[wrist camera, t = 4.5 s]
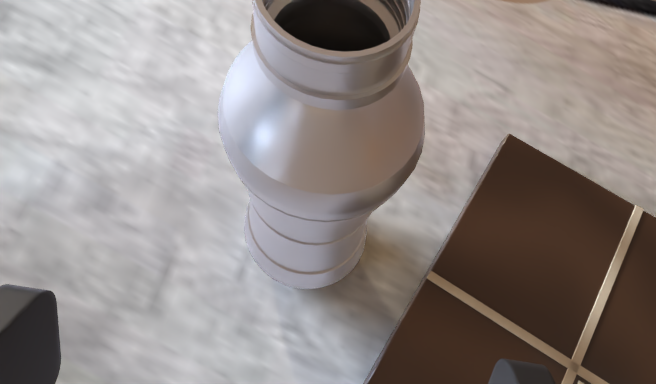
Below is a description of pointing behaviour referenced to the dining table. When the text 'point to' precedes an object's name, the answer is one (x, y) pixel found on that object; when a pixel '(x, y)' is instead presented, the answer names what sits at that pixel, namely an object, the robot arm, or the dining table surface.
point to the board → (533, 283)
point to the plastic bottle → (321, 129)
